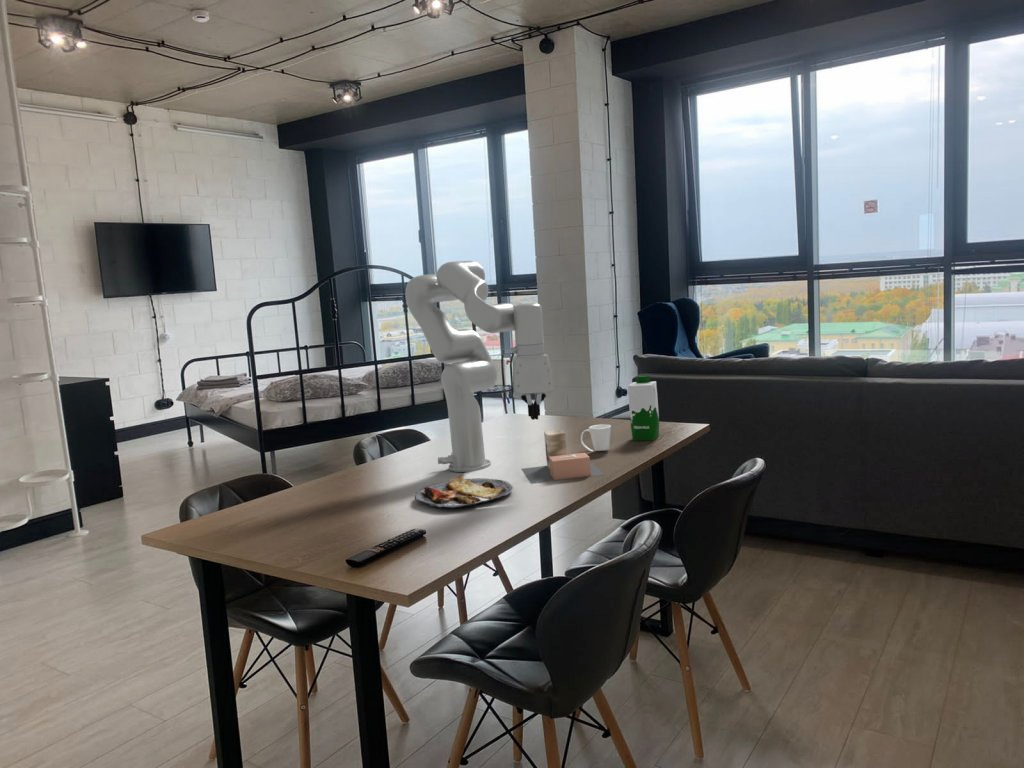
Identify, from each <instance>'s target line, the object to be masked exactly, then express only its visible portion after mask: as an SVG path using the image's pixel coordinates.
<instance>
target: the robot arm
mask: <svg viewBox="0 0 1024 768" xmlns="http://www.w3.org/2000/svg"><path fill="white" fill-rule="evenodd" d="M485 275H486V274H485V269H484V268H483V266H482V265H481V264H480V263H478V262H477V261H474V260H459V261H457V260H456V261H448V262H445V263H443V264H441V265H440V266H439V268H438V269H437V271H436V273H430V274H421V275H417V276H415V277H412V278H411V279H410V280H409V281H408V282H407V284H406V288H405V302H406V305H407V308H408V311H409V312H410V314H411V315H412V317H413V318H414V320H415V321H416V322H417V324H418V326H419V327H420V329H421V331H422V334H423V335H424V337H425V340H426V342H427V344H428V346H429V348H430V349H431V352H432V354H433V356H434V358H435V359H436V360H437V361H438V362H439V363H441V364H448V363H449V365H447V366H446V367H444V369H443V371H442V372H441V376H440V380H441V385H442V386H441V387H442V388H443V392H444V395H445V400H446V406H447V415H448V423H449V424H448V425H449V432H450V443H451V452H450V454H449V455H447V456H440V457H437V464H438V465H440V464H442V465H447V464H449V465H448V470H449V471H450V472H455V473H465V472H467V473H468V472H474V471H480V470H484V469H486V468H488V467H490V466H492V465H491V463H492V461H491V460H490V459H487V458H486V454H485V444H484V433H483V422H482V414H481V407H480V404H479V401H478V400H477V399H476V397H475V396H474V394H473V393H477V392H482V391H486V390H490V389H491V388H493V387H495V385H496V383H497V382H498V370H497V368H496V365H495V362H494V361H493V359H492V356H491V355H490V352H489V351H488V349H487V347H486V344H485V343H484V340H483V339H482V337H481V335H480V334H479V333H477V331H475V330H473V329H471V328H460V329H456V328H454V327H453V326H452V324H451V323H450V321H449V318H448V316H447V315H446V314H445V313H444V312H443V311H442V310H441V309H440V308H439V307H438V306H436V305H434V303H443V302H452V301H456V300H459V301H460V302H461V303H463V304H464V306H463V307H464V311H465V313H466V316H467V318H468V320H469V321H470V322H471V323H472V324H473V325H475V326H476V327H478V329H480V330H482V331H484V332H485V333H489V334H498V333H505V332H512V331H514V338H515V340H514V341H515V344H514V345H515V346H513V347H510V348H509V350H510V353H514V354H515V356H514V357H513V363H512V389H513V394H512V397H513V399H518V400H522V401H523V402H524V403H526V404H527V414H528V417H530V419H531V420H532V421H534V420H539V416H541V406H540V405H541V403H542V402H543V401H544V399H545V398H548V397H550V396H553V395H554V392H553V378H552V377H553V376H552V368H551V363H550V358H549V355H548V354H546V353H545V338H544V337H545V335H544V319H543V317H544V316H543V308H542V306H541V304H539V303H534V302H533V303H532V302H531V303H522V302H508V303H507V302H506V303H497V304H495V303H494V304H489V303H488V302H486V299H487V298H488V295H489V292H490V291H489V285H488V283H487V282H486V281H485V279H486V276H485ZM531 395H534V401H532V396H531Z"/></svg>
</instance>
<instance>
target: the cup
mask: <svg viewBox="0 0 1024 768" xmlns="http://www.w3.org/2000/svg"><path fill="white" fill-rule="evenodd" d="M611 429H612V425H611V424H595V425H591V426H589V427H588V429H585V430H583V431H582V432H581V434H580V443H581V445H582V446H583V448H585V449H586V450H587V451H589V452H594V451H597V452H601V451H607V450H609V449H610V443H611ZM585 432H589V434H590V438H591V439H590V440H591V442H592V446H593V449H594V450H593V449H591V448H589V447H588V446H587V445H586V444H585V443H584V441H583V438H584V436H583V435H584V434H585Z"/></svg>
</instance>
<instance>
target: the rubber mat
mask: <svg viewBox="0 0 1024 768" xmlns="http://www.w3.org/2000/svg"><path fill="white" fill-rule="evenodd" d="M590 466H591V475H590V476H581V477H573V478H565V479H557V480H554V479H553V477H552V476H551V475H550V469H549V467H548V466H547V465H542V466H532V467H524V468H521V470H522V472H523V473H524V476H525V477H526V478H527V480H528V482H529V483H530V484H531V485H532V484H541V483H549V482H556V481H564V480H565V481H566V480H572V479H581V478H590V477H591V478H592V477H598V476H605V475H606V474H605V473H604V472H602V470H601V469H599V468H598V467H597V466H596V465H595V464H594V463H593V462H592V461H590Z"/></svg>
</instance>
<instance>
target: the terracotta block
mask: <svg viewBox="0 0 1024 768" xmlns="http://www.w3.org/2000/svg"><path fill="white" fill-rule="evenodd" d="M590 462H591V457H590V456H589V455H588V454H587V453H586V452H578V453H571V454H567V455H560V456H552V457H549V464H550V475H551V476H552V477H553V479H554V480H557V479H565V478H573V477H581V476H590V475H591V466H590Z"/></svg>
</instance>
